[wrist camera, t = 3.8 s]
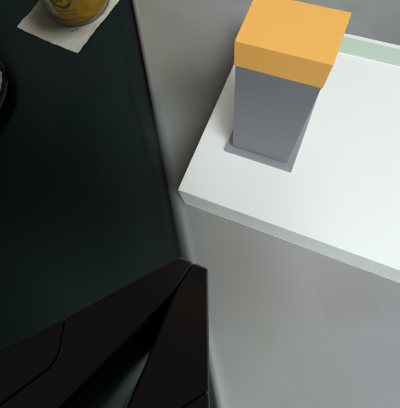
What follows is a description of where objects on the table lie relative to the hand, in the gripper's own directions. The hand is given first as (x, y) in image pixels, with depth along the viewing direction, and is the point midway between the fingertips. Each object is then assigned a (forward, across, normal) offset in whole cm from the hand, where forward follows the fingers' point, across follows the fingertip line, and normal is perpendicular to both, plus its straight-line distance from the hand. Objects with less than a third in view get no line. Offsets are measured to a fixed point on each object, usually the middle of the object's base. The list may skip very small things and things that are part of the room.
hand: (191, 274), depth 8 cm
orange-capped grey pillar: (+13, 0, -1) cm, 13 cm away
